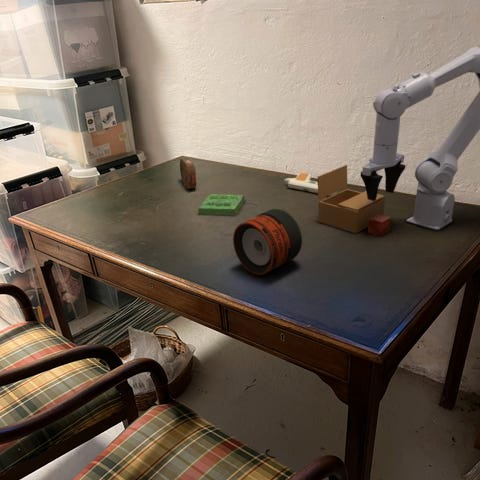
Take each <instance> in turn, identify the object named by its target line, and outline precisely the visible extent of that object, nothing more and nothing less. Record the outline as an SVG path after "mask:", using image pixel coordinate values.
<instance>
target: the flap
mask: <svg viewBox="0 0 480 480" xmlns="http://www.w3.org/2000/svg"><path fill="white" fill-rule="evenodd" d="M317 183H318V193H317V198H318V200H322V199H323V198H327V197H329V196H328V195H330V194H332V193H335V192H337V191H338V192H340V191H341V190H344V189H347V188H348V164H344V165H343V166H340V167H338V168H334V169H332V170H330V171H328V172H325V173H323V174H321V175H318V176H317ZM338 192H337V193H338Z"/></svg>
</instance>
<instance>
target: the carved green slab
mask: <svg viewBox="0 0 480 480" xmlns="http://www.w3.org/2000/svg"><path fill="white" fill-rule="evenodd" d="M244 203H245V194H218V193H215V194H214V193H210V194H208V196H207V197H206V198H205V199H204V201H203V202H201V204H200V205H199V206H198V208H197V209H198V214H199V215H204V216H205V215H206V216H208V215H209V216H232V217H233V216H236V215H237V213H238V212H239V210H240V209H241V207H242V206H243V204H244Z"/></svg>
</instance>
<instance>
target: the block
mask: <svg viewBox="0 0 480 480" xmlns="http://www.w3.org/2000/svg"><path fill="white" fill-rule="evenodd" d="M390 225H391V216H386V215H384V214H383V215H380V214H377V215H375V216H373V217H371V218H369V224H368V227H367V233H368V234H371V235H375V236H378V237H383V236H384V235H385V234H388V233H389V232H390V227H391V226H390Z"/></svg>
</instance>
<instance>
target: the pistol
mask: <svg viewBox="0 0 480 480" xmlns="http://www.w3.org/2000/svg"><path fill="white" fill-rule="evenodd" d="M311 179H312V174H310V173H301V172H299V173H298V174H297V176H296V177H287V178H284V181H283V183H284V184H286V185H287V188H289V189H294V190H299V191H304V192H307V193H314V194H318V181H315V180H311ZM337 193H339V191H337V192H335V193H332V194H330V195H328V196H327V197H330V196H332V195H335V194H337Z"/></svg>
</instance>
